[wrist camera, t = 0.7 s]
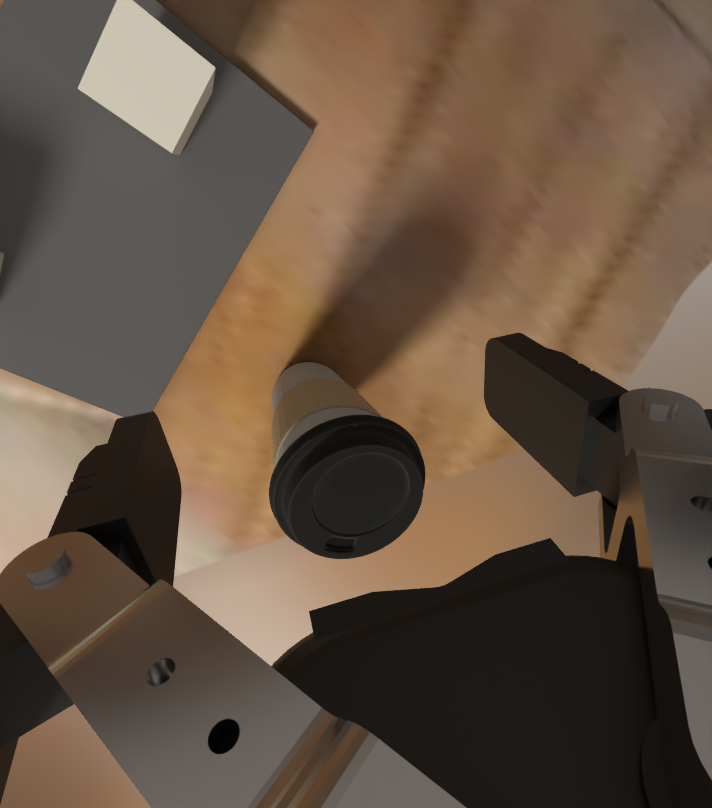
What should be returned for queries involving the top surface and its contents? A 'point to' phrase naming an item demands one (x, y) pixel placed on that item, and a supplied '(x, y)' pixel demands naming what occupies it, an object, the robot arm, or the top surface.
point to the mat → (119, 209)
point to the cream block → (148, 77)
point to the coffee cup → (339, 466)
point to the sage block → (1, 260)
